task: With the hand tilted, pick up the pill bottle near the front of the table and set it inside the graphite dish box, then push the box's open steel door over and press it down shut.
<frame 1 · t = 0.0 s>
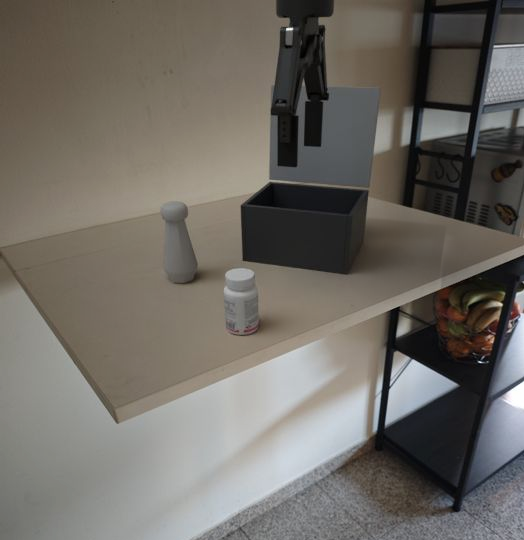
hand: (300, 155, 75), 20 cm above the table, tool pointing down, fingers open, 13 cm apart
door: (321, 136, 91), point 19 cm above the table, hinge at 95.0°
salt shaker: (182, 279, 86), on the table
pill bottle: (242, 328, 72), on the table
dish box: (305, 251, 95), on the table
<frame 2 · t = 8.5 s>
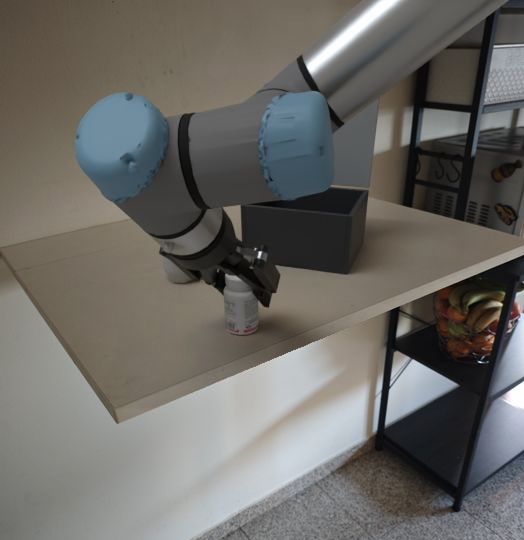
hand: (250, 295, 73), 3 cm above the table, tool tilted 45°, fingers closed on pill bottle, 5 cm apart
pill bottle: (242, 328, 72), on the table, touching gripper
everything else where it was.
when the fingers open (5 cm above the table, at t = 20.1 s): pill bottle stays where it is, resting on dish box.
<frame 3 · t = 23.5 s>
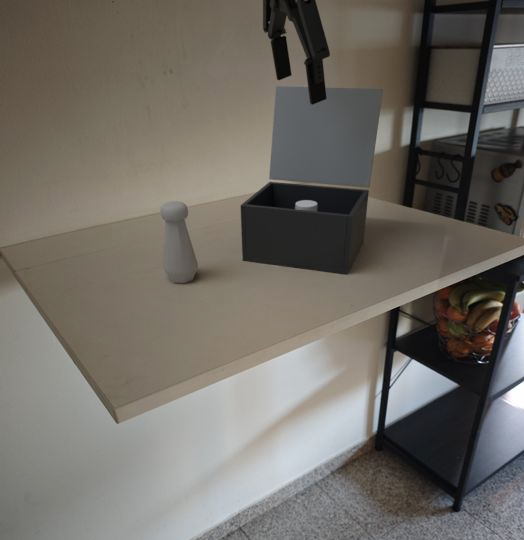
hand: (300, 88, 88), 27 cm above the table, tool tilted 20°, fingers open, 13 cm apart
door: (322, 136, 93), point 19 cm above the table, hinge at 105.2°
pill bottle: (305, 248, 95), point 1 cm above the table, touching dish box
everything else where it was.
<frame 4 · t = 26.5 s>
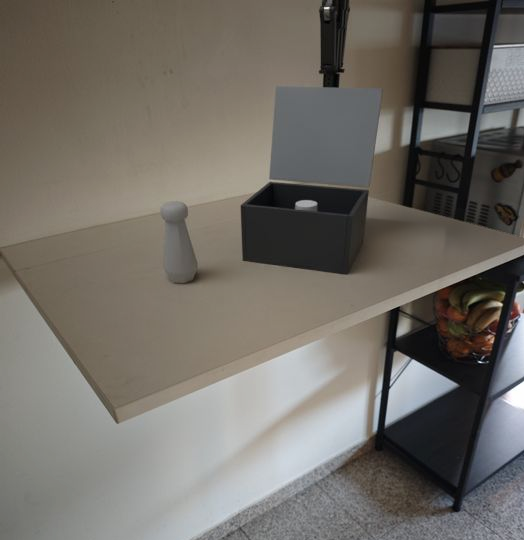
hand: (329, 112, 94), 22 cm above the table, tool pointing down, fingers closed
door: (322, 136, 93), point 19 cm above the table, hinge at 104.9°, touching gripper
everything else where it was.
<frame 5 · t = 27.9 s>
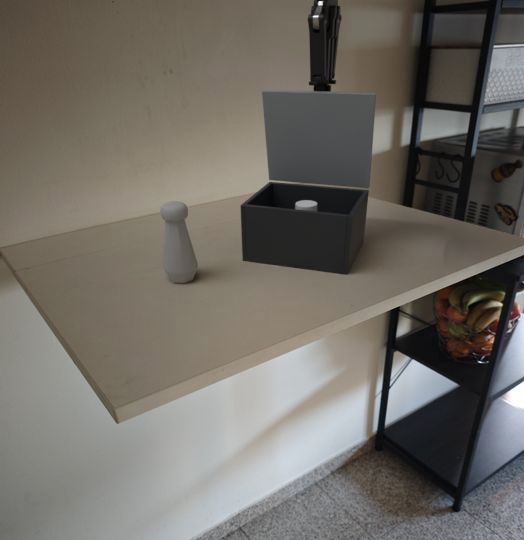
hand: (320, 125, 89), 21 cm above the table, tool pointing down, fingers closed
door: (317, 140, 89), point 19 cm above the table, hinge at 77.6°, touching gripper
everything else where it was.
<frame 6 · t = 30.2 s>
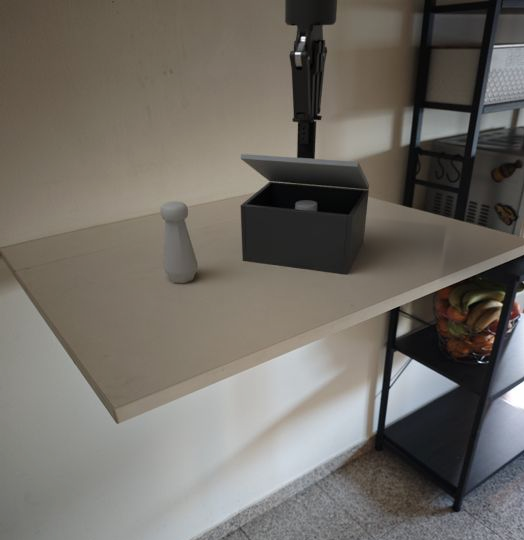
hand: (305, 162, 85), 17 cm above the table, tool pointing down, fingers closed
door: (308, 172, 88), point 14 cm above the table, hinge at 27.0°, touching gripper
everything else where it was.
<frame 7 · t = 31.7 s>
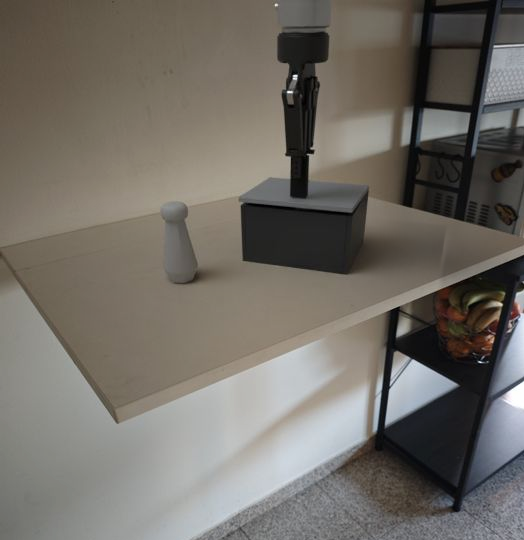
hand: (298, 195, 84), 12 cm above the table, tool pointing down, fingers closed
door: (306, 193, 89), point 11 cm above the table, hinge at 2.6°, touching gripper
everything else where it was.
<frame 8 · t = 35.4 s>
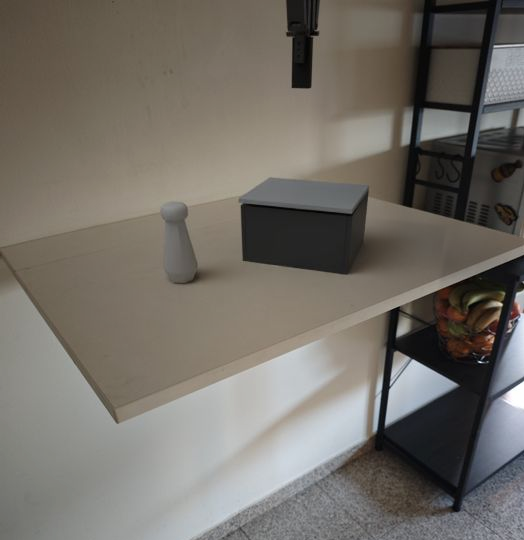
hand: (301, 87, 75), 28 cm above the table, tool pointing down, fingers closed
door: (306, 193, 89), point 11 cm above the table, hinge at 2.1°
everything else where it was.
at the end: pill bottle inside the target area in the dish box (0.0 cm from its centre), point 0.6 cm above the dish box's base; door at +2° (first picture: +95°) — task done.
